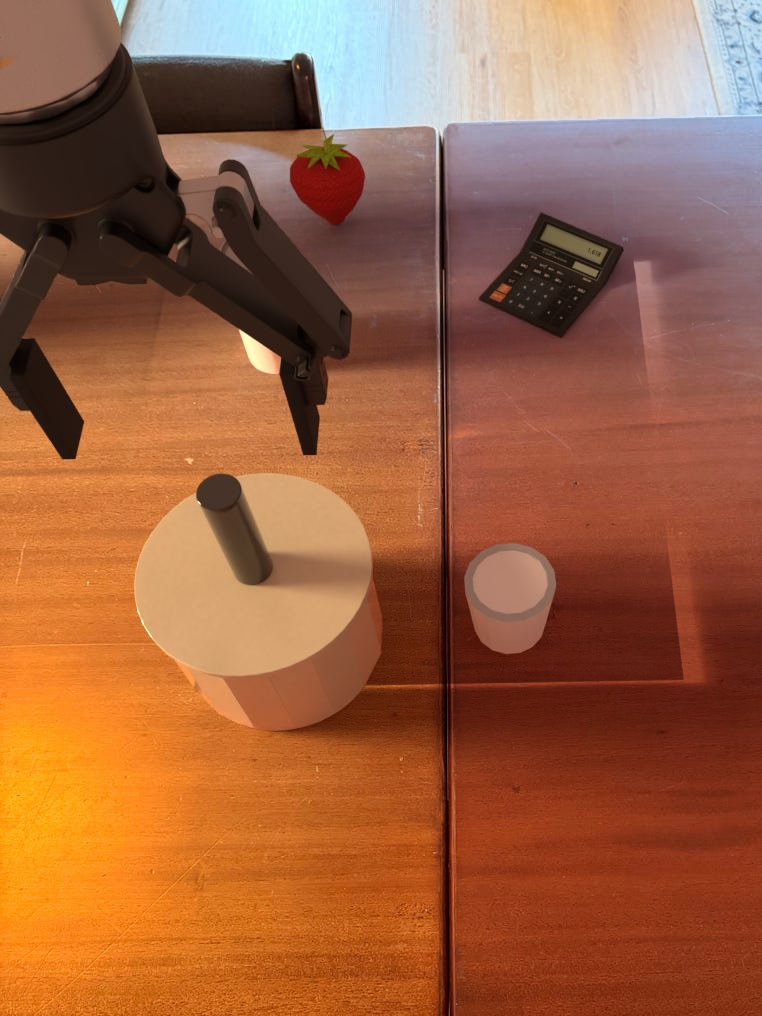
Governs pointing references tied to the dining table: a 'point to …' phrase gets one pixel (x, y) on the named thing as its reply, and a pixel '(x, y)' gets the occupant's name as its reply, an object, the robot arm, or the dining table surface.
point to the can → (255, 350)
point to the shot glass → (509, 596)
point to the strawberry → (328, 180)
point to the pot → (301, 681)
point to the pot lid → (253, 575)
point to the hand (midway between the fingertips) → (192, 438)
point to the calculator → (554, 275)
